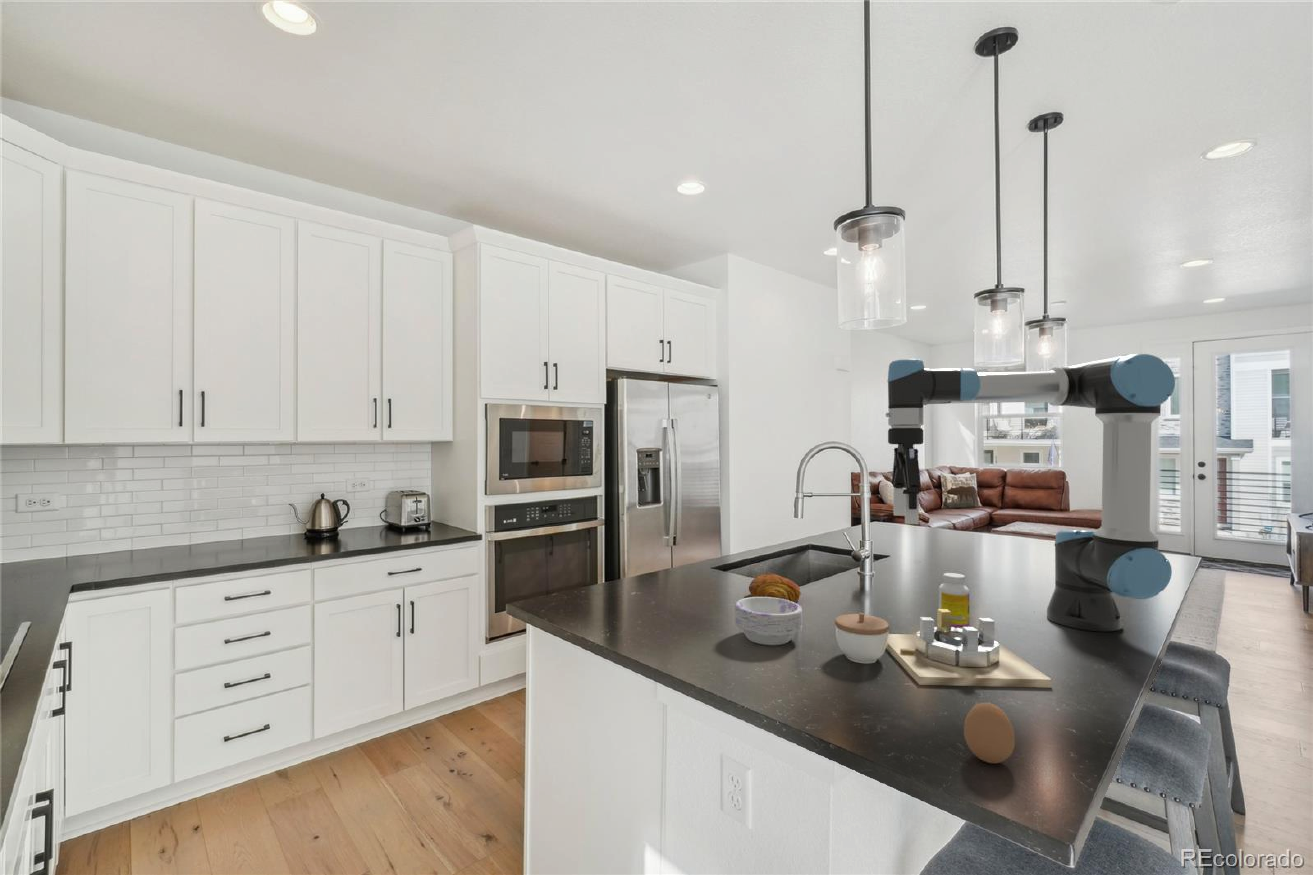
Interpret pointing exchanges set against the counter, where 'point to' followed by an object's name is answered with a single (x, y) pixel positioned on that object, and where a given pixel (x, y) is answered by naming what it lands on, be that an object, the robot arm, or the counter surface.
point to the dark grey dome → (951, 638)
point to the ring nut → (974, 645)
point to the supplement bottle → (955, 599)
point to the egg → (989, 733)
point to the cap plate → (964, 668)
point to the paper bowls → (768, 619)
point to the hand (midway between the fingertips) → (905, 519)
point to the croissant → (774, 587)
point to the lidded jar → (862, 637)
